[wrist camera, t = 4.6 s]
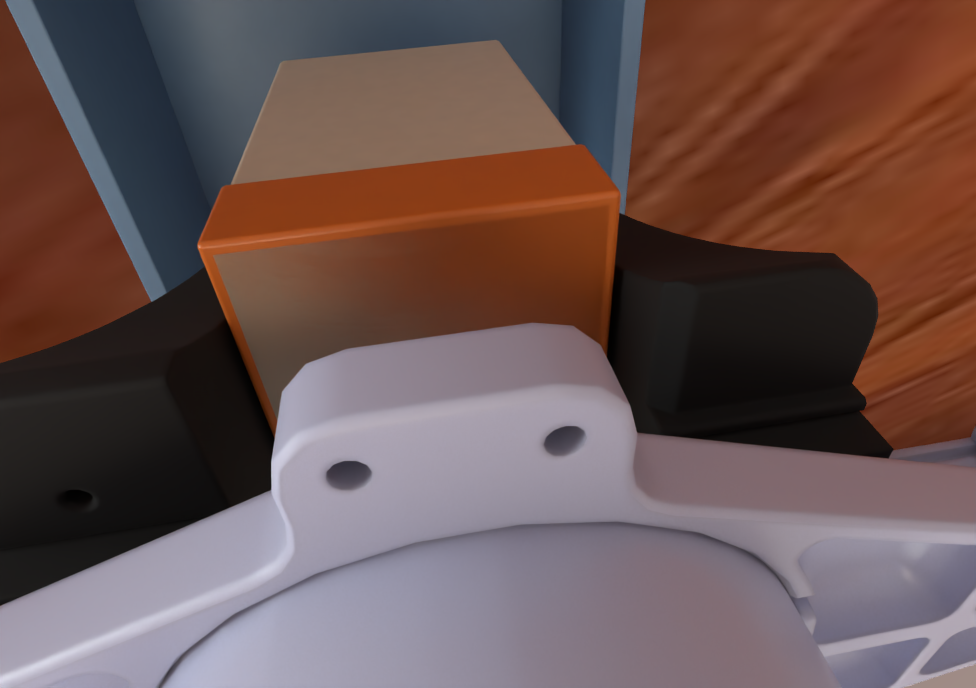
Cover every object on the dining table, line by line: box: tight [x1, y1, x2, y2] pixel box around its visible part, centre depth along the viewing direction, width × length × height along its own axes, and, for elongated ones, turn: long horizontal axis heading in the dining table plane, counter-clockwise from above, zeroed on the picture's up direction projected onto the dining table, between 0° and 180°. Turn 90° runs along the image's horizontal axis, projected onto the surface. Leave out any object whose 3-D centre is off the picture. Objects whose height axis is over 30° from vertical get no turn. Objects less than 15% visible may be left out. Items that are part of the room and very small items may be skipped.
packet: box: [197, 40, 621, 438], centre depth 11 cm, size 6×4×8 cm
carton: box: [5, 0, 645, 302], centre depth 19 cm, size 14×13×6 cm
